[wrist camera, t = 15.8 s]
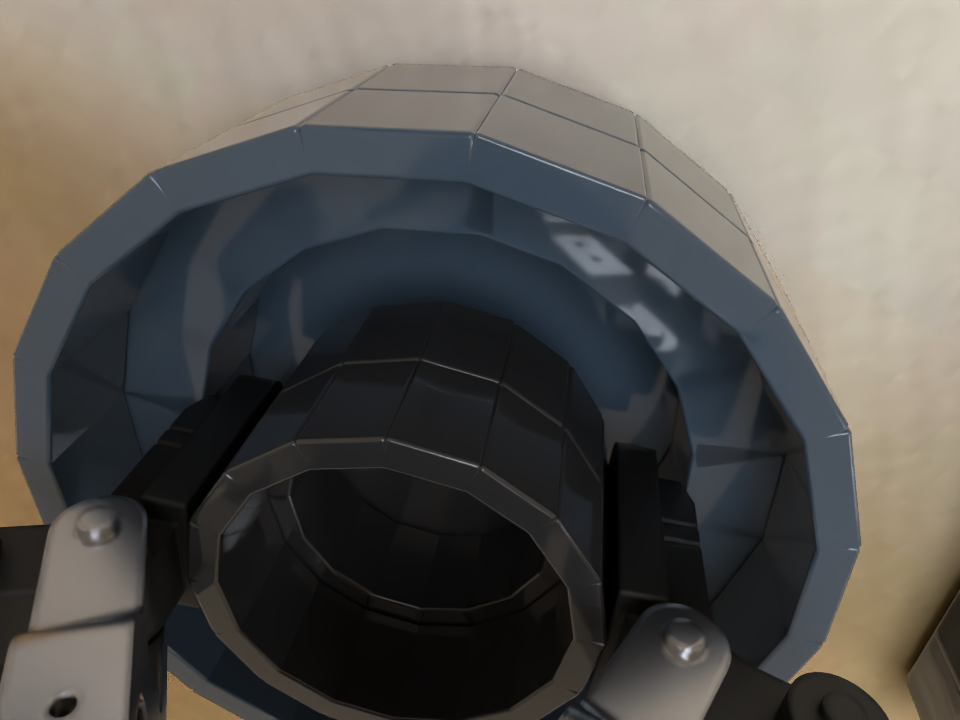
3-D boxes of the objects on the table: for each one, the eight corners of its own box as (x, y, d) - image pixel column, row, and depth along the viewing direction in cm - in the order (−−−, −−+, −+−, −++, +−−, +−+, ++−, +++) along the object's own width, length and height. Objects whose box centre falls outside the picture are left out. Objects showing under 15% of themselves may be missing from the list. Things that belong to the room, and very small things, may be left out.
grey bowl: (91, 400, 18) (-71, 550, 14) (366, -124, 11) (221, -152, 7) (516, 663, 20) (492, 856, 16) (935, 359, 14) (1077, 548, 10)
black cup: (246, 436, 15) (126, 605, 12) (403, 218, 12) (310, 351, 8) (481, 585, 17) (442, 783, 13) (677, 421, 14) (702, 617, 10)
